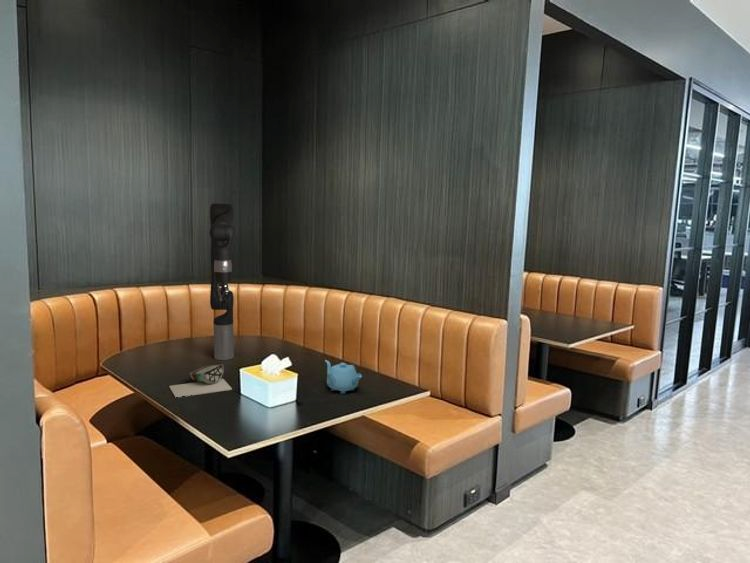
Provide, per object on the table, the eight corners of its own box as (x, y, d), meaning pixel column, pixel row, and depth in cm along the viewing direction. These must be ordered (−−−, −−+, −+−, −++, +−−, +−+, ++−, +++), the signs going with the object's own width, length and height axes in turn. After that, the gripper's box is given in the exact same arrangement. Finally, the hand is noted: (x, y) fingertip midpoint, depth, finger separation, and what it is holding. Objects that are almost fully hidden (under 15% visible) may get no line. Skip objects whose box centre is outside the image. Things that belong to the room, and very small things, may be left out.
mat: (169, 387, 224) (169, 385, 224) (223, 379, 235) (223, 378, 235) (175, 397, 212) (175, 396, 212) (231, 389, 223) (231, 388, 223)
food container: (189, 388, 227) (207, 388, 223) (185, 374, 227) (203, 373, 222) (210, 378, 238) (227, 377, 234) (206, 365, 237) (224, 364, 233)
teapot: (323, 395, 219) (323, 368, 217) (324, 384, 232) (324, 358, 231) (361, 395, 220) (361, 368, 218) (360, 384, 233) (360, 359, 232)
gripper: (235, 271, 234) (236, 311, 236) (227, 268, 245) (228, 306, 248) (218, 272, 230) (218, 312, 233) (210, 268, 242) (211, 307, 244)
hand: (223, 309), depth 240 cm, fingers closed
